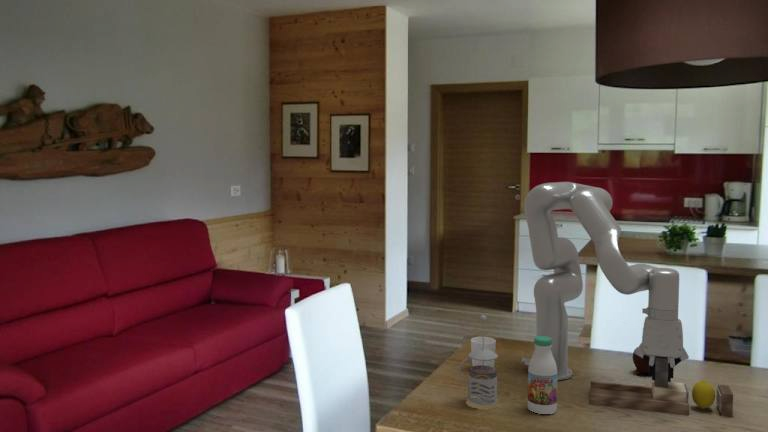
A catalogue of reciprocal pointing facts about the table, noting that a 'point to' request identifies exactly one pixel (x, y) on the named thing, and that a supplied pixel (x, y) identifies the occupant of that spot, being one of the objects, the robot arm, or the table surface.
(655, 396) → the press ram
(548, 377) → the milk bottle
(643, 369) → the mate gourd
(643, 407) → the press bed
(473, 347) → the translucent flanged cylinder
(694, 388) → the lemon
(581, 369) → the table surface
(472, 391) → the french press
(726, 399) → the open brown box
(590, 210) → the robot arm
